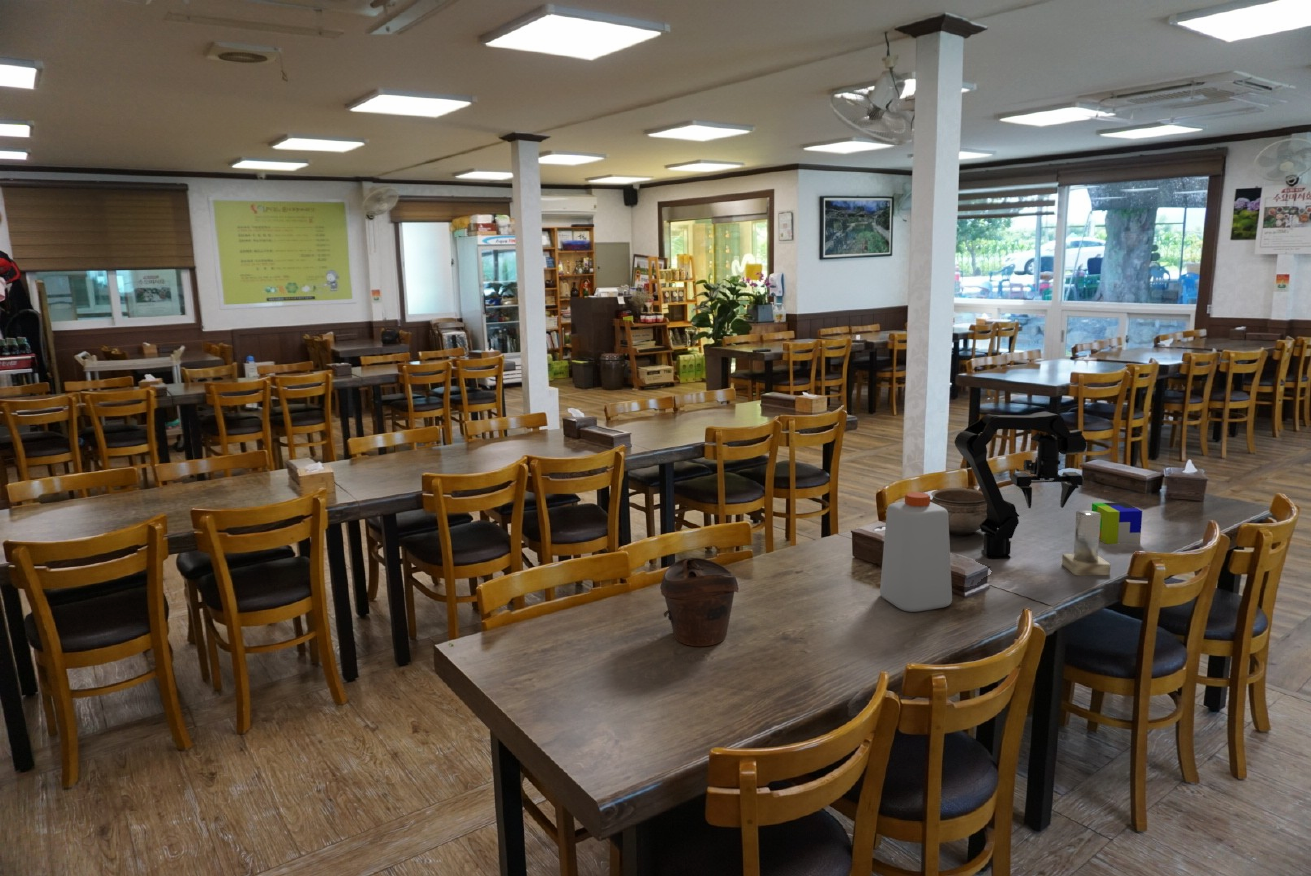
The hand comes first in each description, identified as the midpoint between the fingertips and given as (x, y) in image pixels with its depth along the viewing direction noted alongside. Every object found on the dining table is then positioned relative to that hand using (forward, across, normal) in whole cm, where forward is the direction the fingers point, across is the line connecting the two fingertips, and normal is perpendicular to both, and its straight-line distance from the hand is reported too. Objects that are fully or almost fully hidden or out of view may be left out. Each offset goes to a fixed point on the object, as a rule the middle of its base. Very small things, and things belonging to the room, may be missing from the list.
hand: (1045, 507), depth 249 cm
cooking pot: (+13, +19, -19) cm, 30 cm away
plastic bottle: (+13, +46, +38) cm, 61 cm away
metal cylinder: (+10, -5, +17) cm, 20 cm away
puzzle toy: (+13, -25, -10) cm, 30 cm away
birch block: (+13, -5, +17) cm, 22 cm away
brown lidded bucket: (+13, +100, +59) cm, 117 cm away
